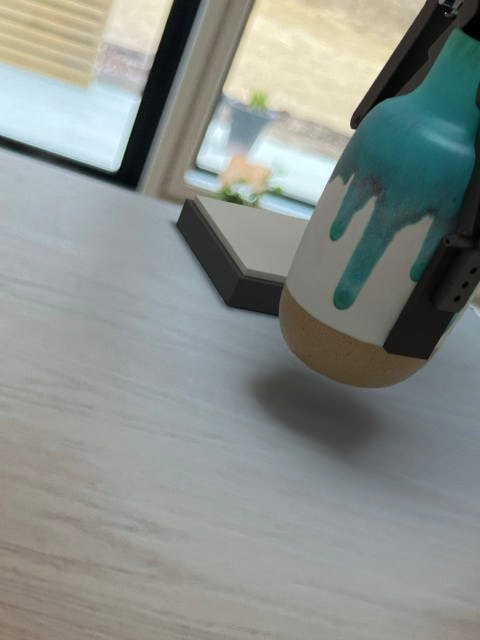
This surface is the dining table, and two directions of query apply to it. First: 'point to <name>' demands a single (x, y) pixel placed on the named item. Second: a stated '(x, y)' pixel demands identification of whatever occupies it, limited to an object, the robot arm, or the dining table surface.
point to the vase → (384, 225)
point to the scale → (242, 249)
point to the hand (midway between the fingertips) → (365, 305)
